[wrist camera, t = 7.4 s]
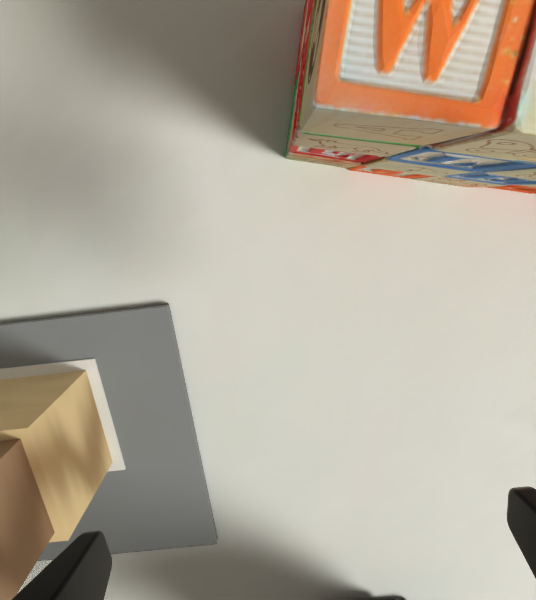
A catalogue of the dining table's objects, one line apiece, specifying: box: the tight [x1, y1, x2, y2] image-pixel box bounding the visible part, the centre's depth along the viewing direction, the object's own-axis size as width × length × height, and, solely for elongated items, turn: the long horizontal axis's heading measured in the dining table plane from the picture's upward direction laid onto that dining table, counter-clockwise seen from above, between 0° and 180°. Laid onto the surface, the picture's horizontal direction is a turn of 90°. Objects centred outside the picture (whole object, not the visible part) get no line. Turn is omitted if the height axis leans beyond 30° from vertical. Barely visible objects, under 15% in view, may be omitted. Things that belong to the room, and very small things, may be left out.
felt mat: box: [0, 304, 218, 561], centre depth 21 cm, size 16×12×1 cm
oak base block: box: [0, 370, 113, 542], centre depth 18 cm, size 6×6×5 cm
